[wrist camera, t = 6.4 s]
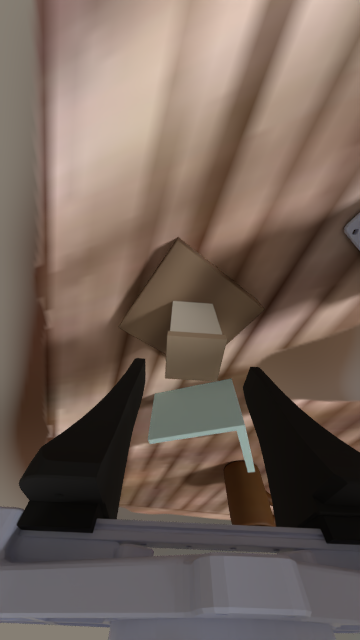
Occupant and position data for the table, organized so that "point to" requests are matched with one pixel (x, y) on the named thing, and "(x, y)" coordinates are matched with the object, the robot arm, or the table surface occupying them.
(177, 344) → the beige rectangular block
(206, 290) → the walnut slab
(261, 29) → the table surface
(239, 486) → the mug
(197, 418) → the l-shaped corner panel
